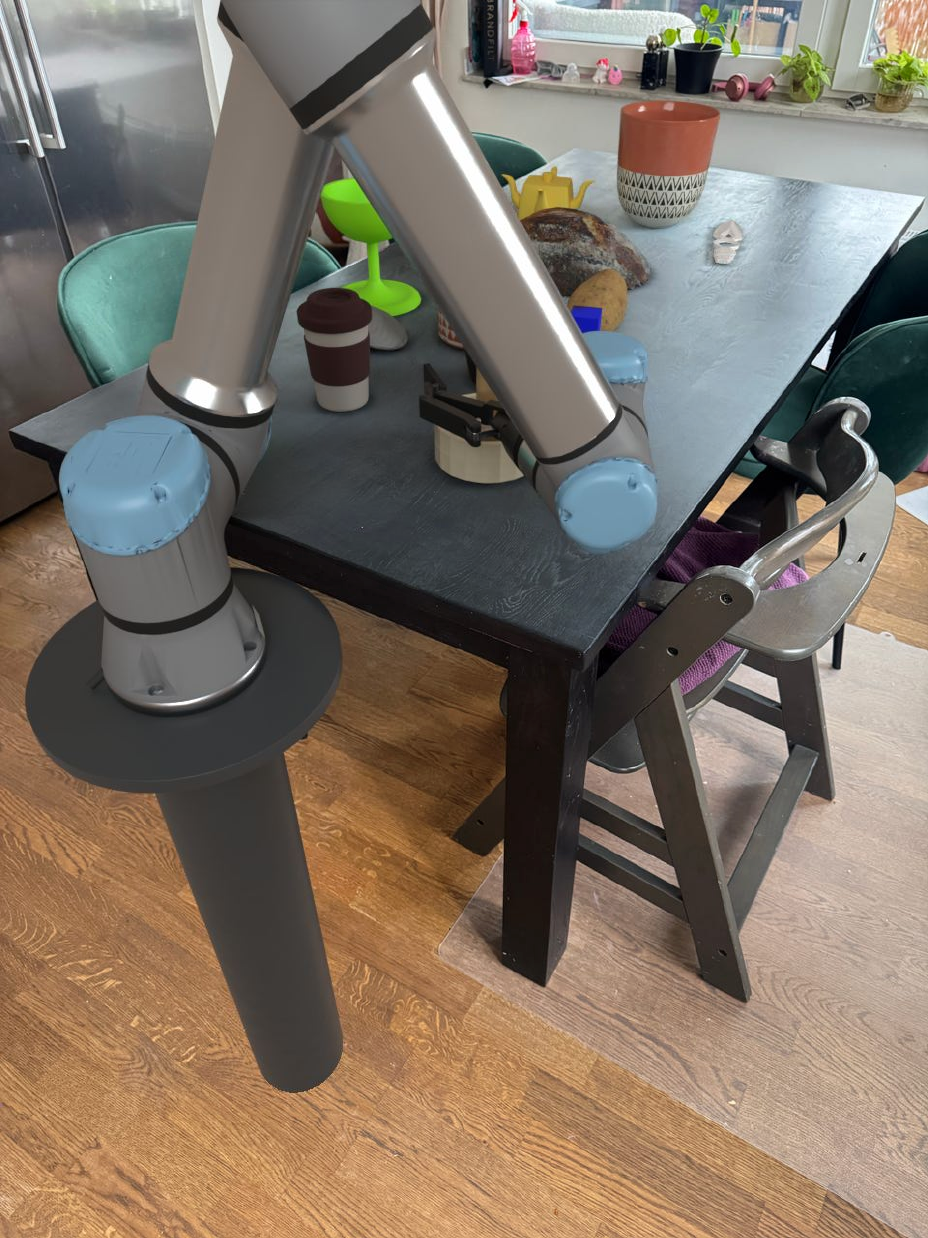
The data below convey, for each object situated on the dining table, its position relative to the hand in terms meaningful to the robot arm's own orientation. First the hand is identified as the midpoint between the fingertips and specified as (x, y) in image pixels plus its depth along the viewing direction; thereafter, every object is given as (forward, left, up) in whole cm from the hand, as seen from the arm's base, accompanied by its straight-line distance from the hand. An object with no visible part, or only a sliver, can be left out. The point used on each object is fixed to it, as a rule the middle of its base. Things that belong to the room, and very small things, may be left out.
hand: (479, 365), depth 106 cm
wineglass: (+18, +51, -11) cm, 55 cm away
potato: (+37, +16, -12) cm, 42 cm away
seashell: (+8, +36, -11) cm, 38 cm away
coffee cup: (-7, +22, -11) cm, 26 cm away
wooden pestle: (-1, -3, -11) cm, 11 cm away
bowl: (-1, -3, -11) cm, 12 cm away
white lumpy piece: (+92, +33, -11) cm, 98 cm away
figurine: (+21, +3, -11) cm, 24 cm away
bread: (+55, +42, -11) cm, 70 cm away
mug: (+13, +13, -11) cm, 22 cm away
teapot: (+72, +66, -11) cm, 98 cm away
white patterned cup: (+23, +28, -11) cm, 38 cm away
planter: (+89, +50, -11) cm, 103 cm away
